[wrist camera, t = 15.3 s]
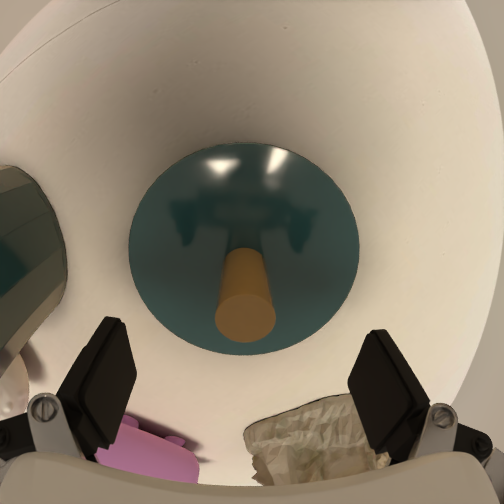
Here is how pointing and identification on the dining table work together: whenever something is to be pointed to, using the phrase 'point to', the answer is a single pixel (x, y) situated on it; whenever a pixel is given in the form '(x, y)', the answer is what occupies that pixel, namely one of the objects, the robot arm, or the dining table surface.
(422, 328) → the dining table surface
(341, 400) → the ceramic cottage
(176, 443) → the teapot
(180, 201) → the lid
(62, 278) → the tin
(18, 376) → the decorative ball
